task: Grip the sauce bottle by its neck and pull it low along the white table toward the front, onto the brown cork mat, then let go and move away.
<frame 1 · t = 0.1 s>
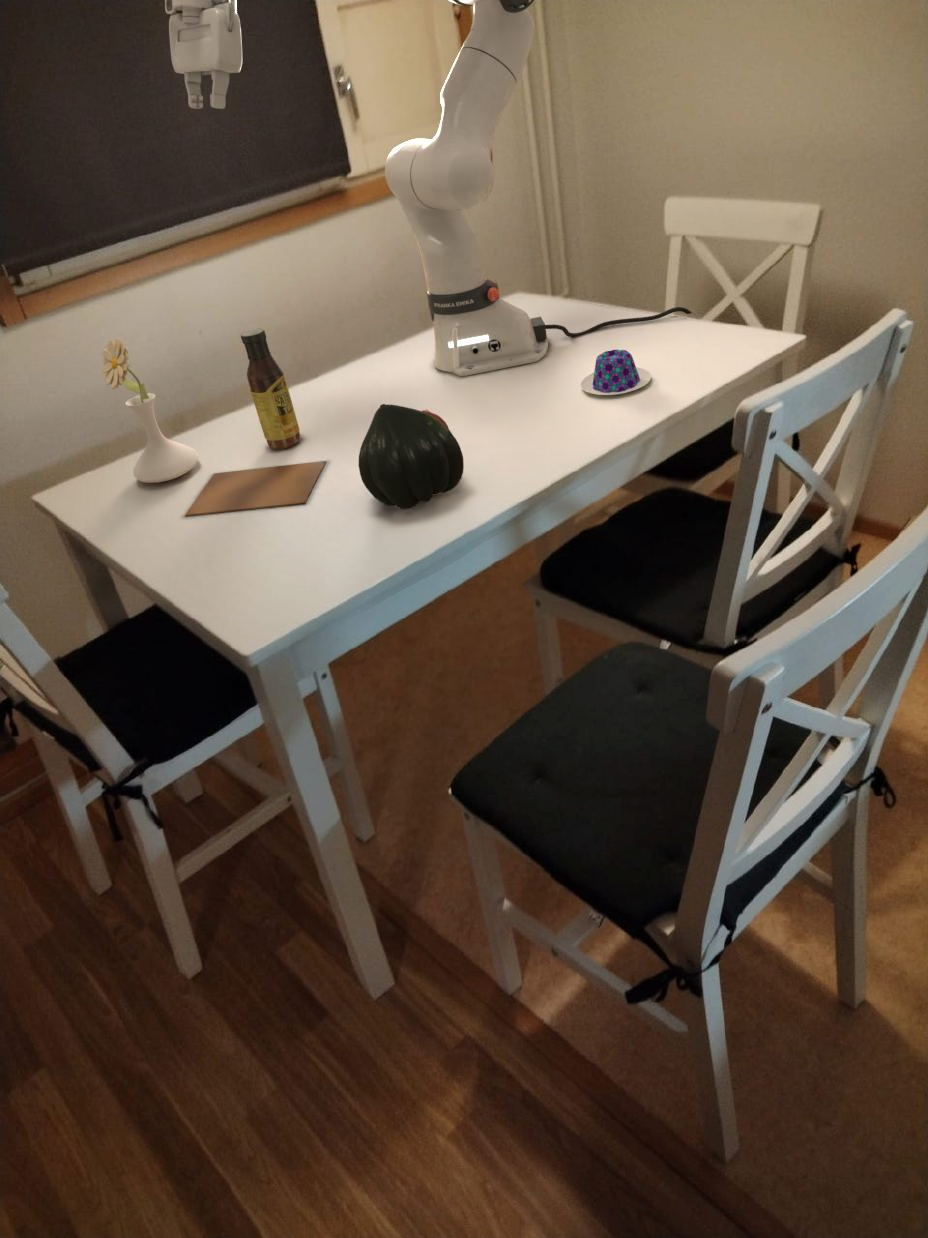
hand: (206, 108, 139), 52 cm above the table, tool tilted 20°, fingers open, 8 cm apart
squash: (417, 496, 139), on the table
flower in vase: (170, 475, 162), on the table
sauce bottle: (285, 443, 164), on the table
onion: (435, 456, 149), on the table
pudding: (616, 385, 159), on the table
cork mat: (257, 488, 151), on the table
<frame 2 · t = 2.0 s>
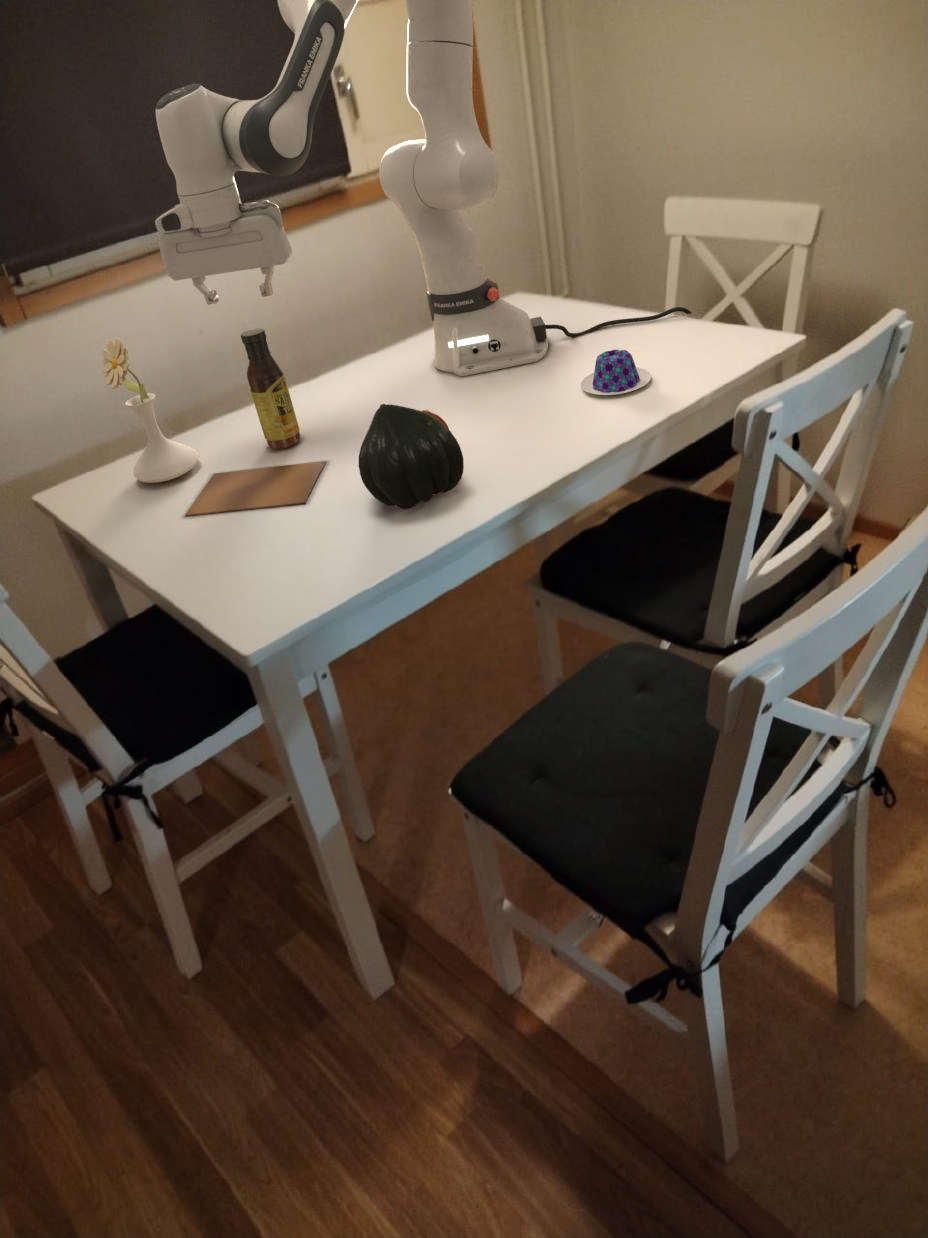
hand: (240, 299, 150), 25 cm above the table, tool pointing down, fingers open, 8 cm apart
nothing on the table moved.
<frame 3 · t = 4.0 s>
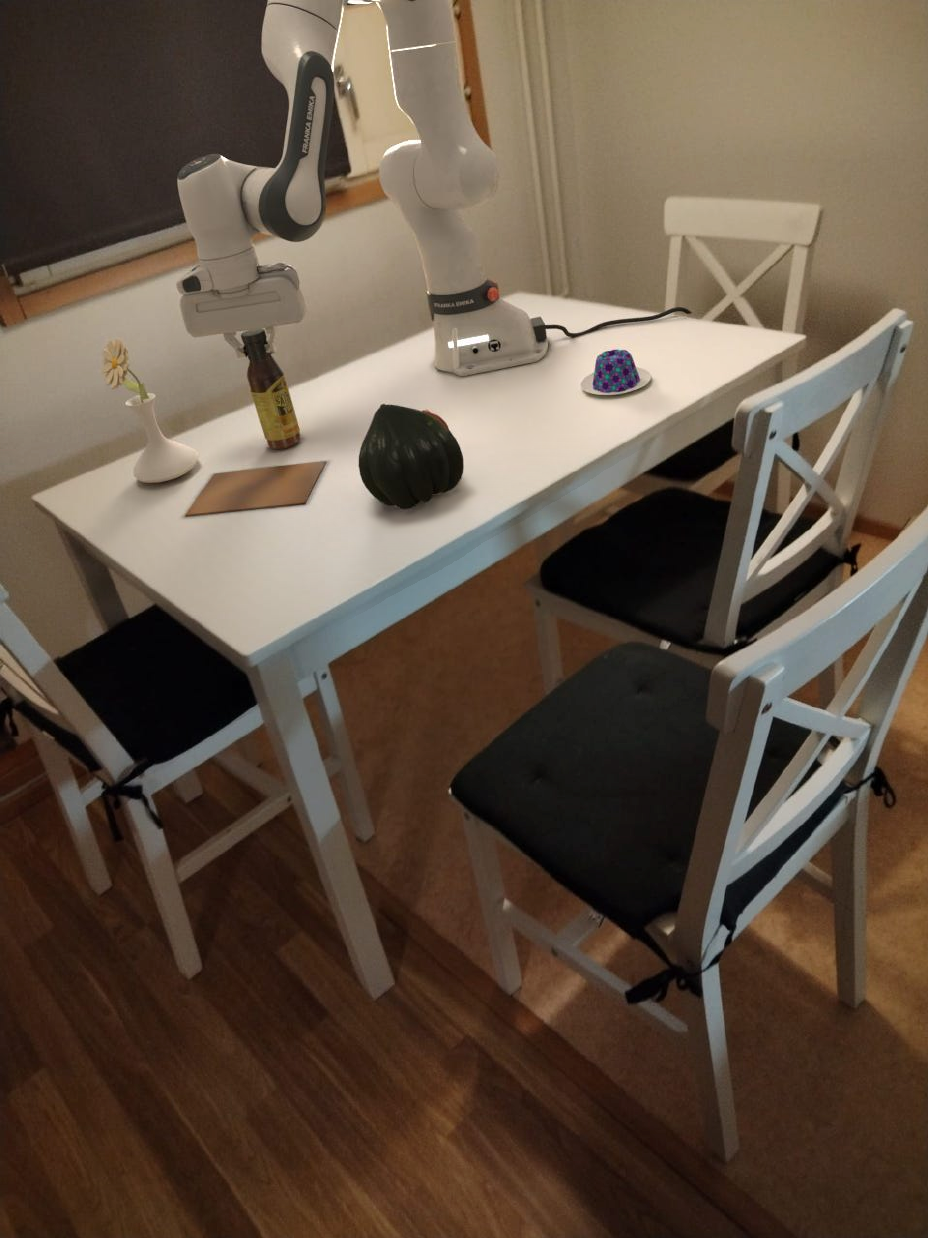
hand: (257, 354, 155), 16 cm above the table, tool pointing down, fingers closed on sauce bottle, 4 cm apart
sauce bottle: (285, 443, 164), on the table, touching gripper
everything else where it was.
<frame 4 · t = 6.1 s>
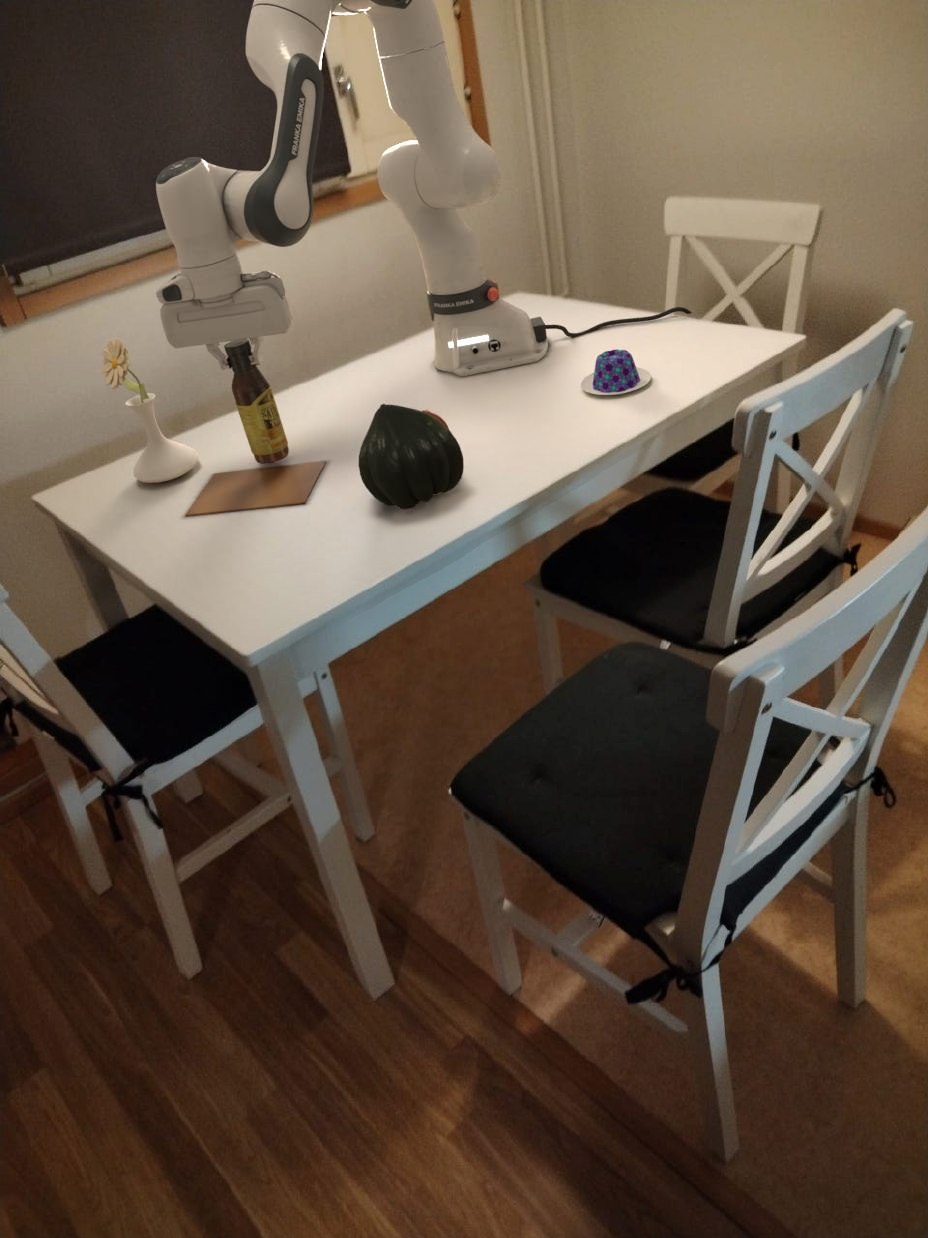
hand: (242, 366, 149), 17 cm above the table, tool pointing down, fingers closed on sauce bottle, 4 cm apart
sauce bottle: (273, 458, 158), point 1 cm above the table, touching gripper
everything else where it was.
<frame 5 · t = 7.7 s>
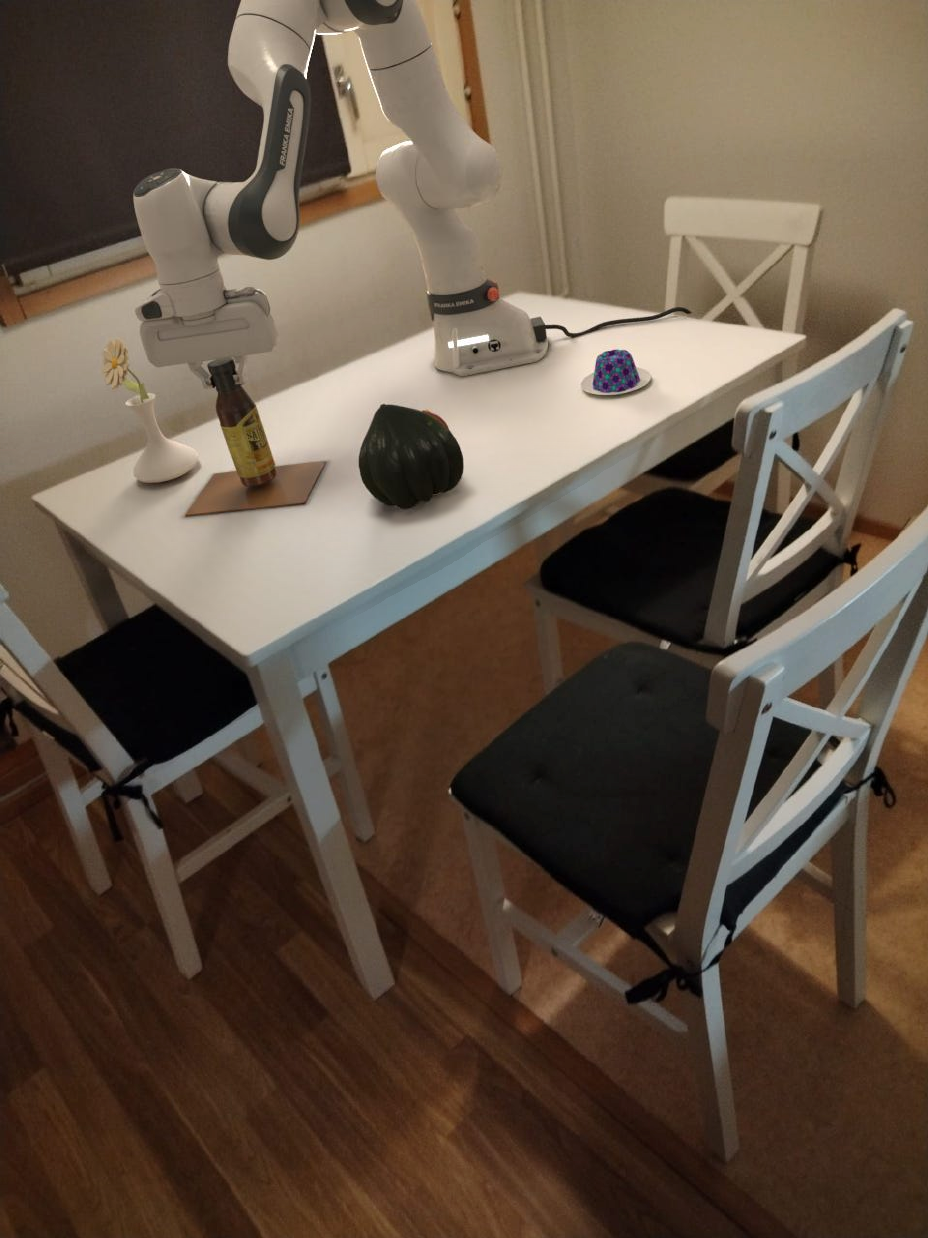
hand: (226, 385, 142), 17 cm above the table, tool pointing down, fingers closed on sauce bottle, 4 cm apart
sauce bottle: (260, 480, 151), point 1 cm above the table, touching gripper
everything else where it was.
when the fingers open (16 cm above the table, at t = 8.6 s): sauce bottle stays where it is, resting on cork mat.
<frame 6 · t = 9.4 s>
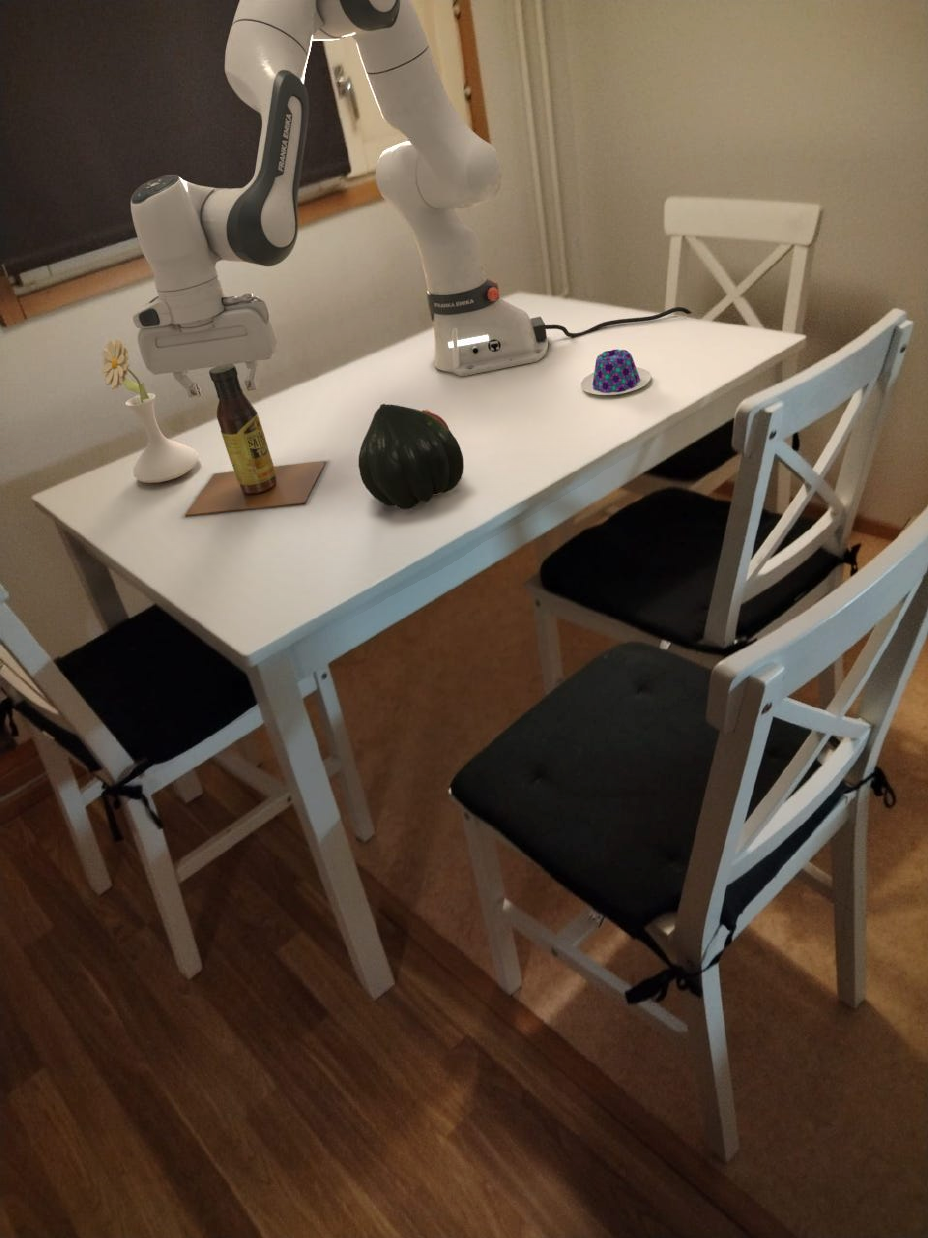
hand: (225, 392, 141), 17 cm above the table, tool pointing down, fingers open, 8 cm apart
sauce bottle: (260, 487, 151), resting on cork mat
everything else where it was.
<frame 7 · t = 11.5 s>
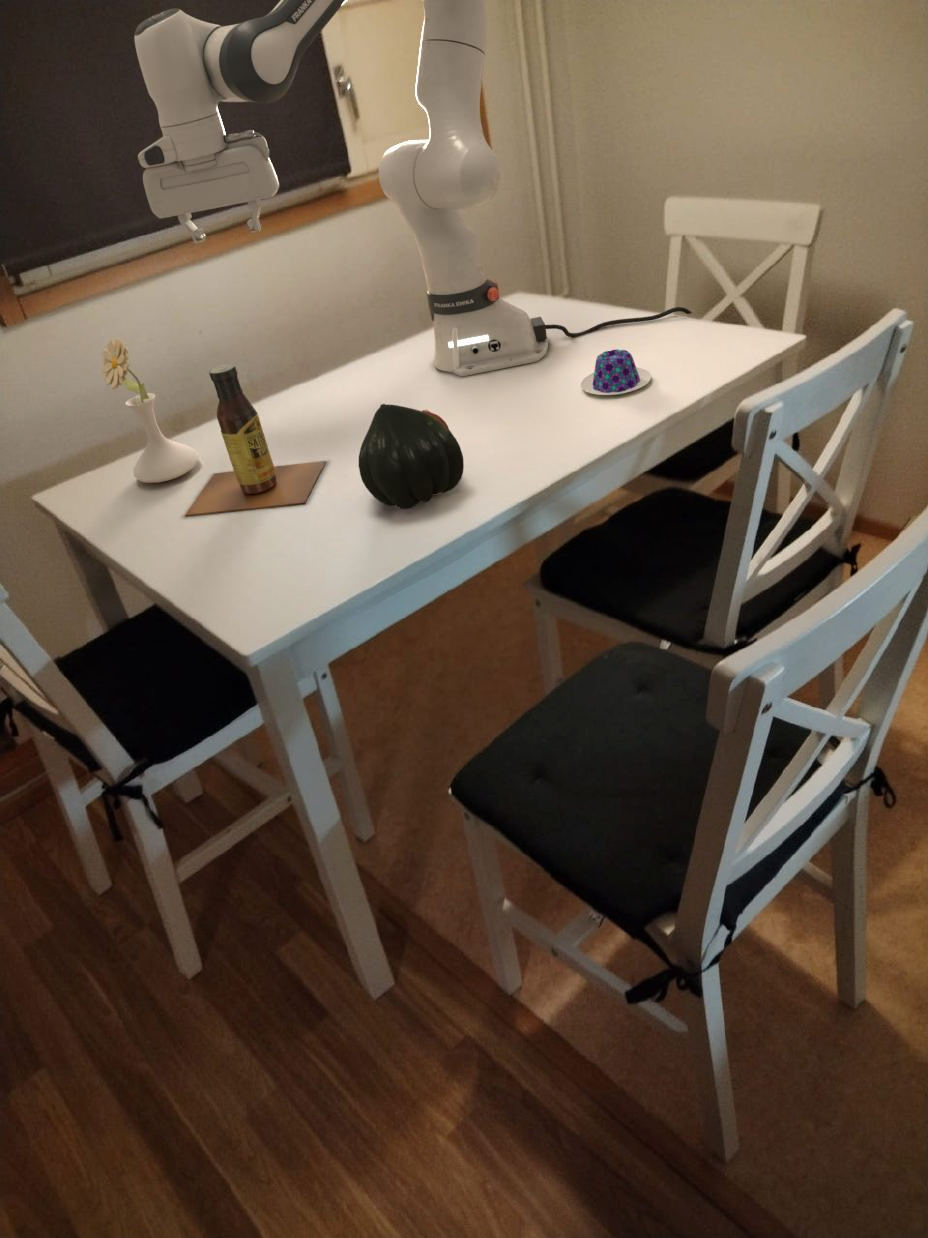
hand: (228, 236, 146), 34 cm above the table, tool pointing down, fingers open, 8 cm apart
nothing on the table moved.
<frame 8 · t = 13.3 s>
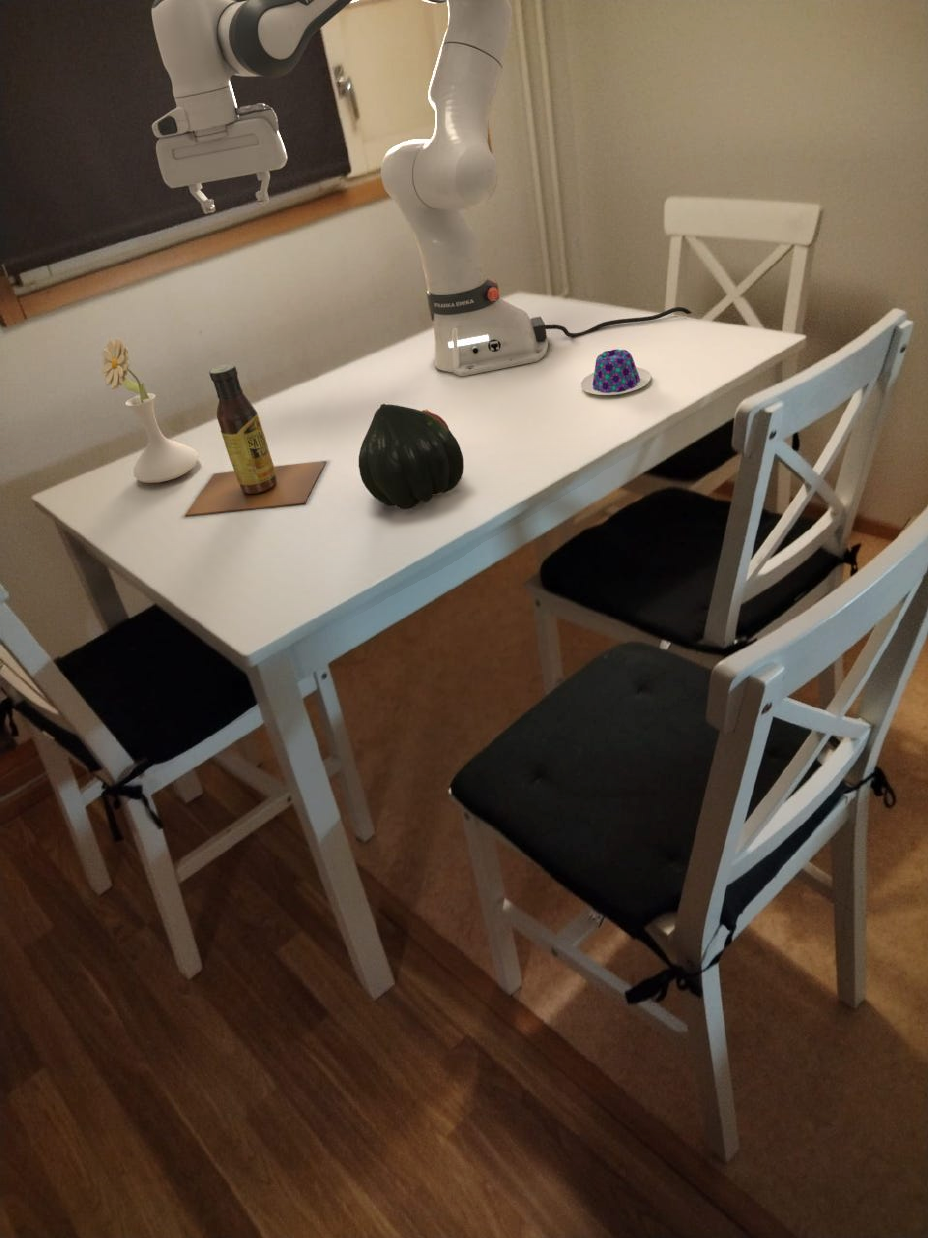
hand: (237, 207, 151), 37 cm above the table, tool pointing down, fingers open, 8 cm apart
nothing on the table moved.
at the end: sauce bottle inside the target area (0.5 cm from its centre), resting on cork mat; sauce bottle tilted 0°; the gripper is holding nothing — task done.
